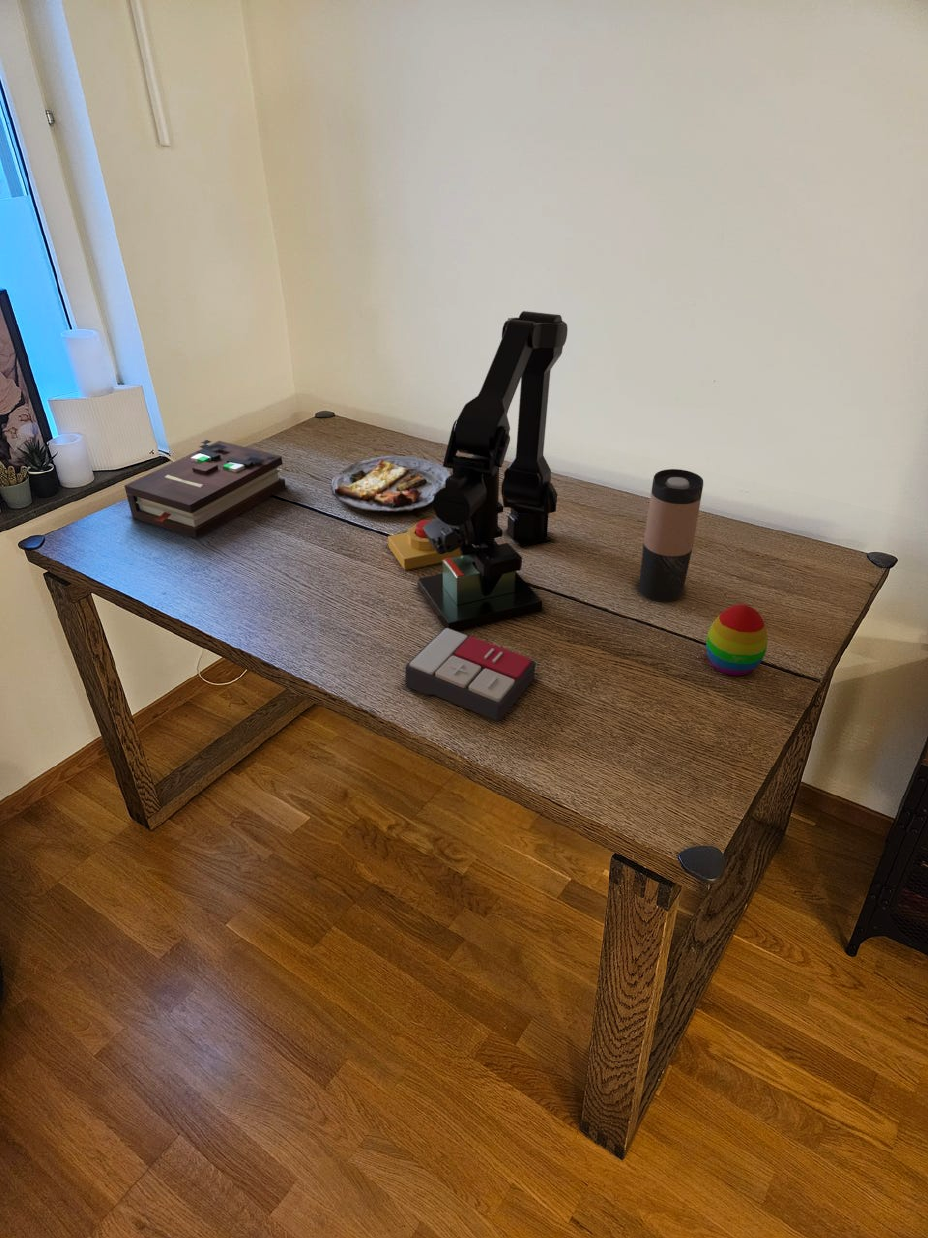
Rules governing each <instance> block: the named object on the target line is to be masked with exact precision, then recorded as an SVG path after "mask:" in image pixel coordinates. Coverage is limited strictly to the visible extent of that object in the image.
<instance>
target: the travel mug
mask: <svg viewBox="0 0 928 1238" xmlns="http://www.w3.org/2000/svg"><path fill="white" fill-rule="evenodd" d="M703 489H704V478H703V477H702V476H700V475H699V474H697V473H696V472H693V471H690V470H685V469H681V468H680V469H679V468H668V469H662V470H659V471H657V472H656V473H655V474H654V475H653V479H652V484H651V492H650V498H649V504H648V510H647V516H646V517H647V518H646V525H645V530H644V536H643V545H642V552H641V563H640V570H639V571H640V572H639V580H638V581H639V582H638V590H639V592H640V594H642V595H643V596H644V597H645V598H647V599H649V600H652V601H655V602H661V603H662V602H665V603H666V602H673V601H676V600H678V599H680V598H681V596H682V595H683V592H684V588H685V583H686V580H687V574H688V570H689V566H690V561H691V557H692V552H693V546H694V541H695V536H696V530H697V524H698V518H699V512H700V507H701V502H702V501H701V500H702V495H703Z"/></svg>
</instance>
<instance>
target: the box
mask: <svg viewBox="0 0 928 1238" xmlns="http://www.w3.org/2000/svg"><path fill="white" fill-rule="evenodd" d="M475 554H476V553H473V554H469V555H464V556H459V557H454V558H445V559H444V560H443V562H442V573H443V587H444V588H445V590H446V591H447V592H448V594H449V595H450V596H451V598H452V599H453V600H454V602H455V603H456V604H457V605H460V604H464V603H468V602H473V601H477V600H481V599H486V598H490V597H495V596H499V595H503V594H508V593H512V592H514V591H515V572H510V573H506V574H503V575H502V576H501V578H500V579H499V581H498V583H497V584H496V586H495V588H494V589H493V591H492V592H491V594H490V595H487V596H484V595H483V591H482V586H481V578H480V572H478V571H477V570H476V569H475V567H474V566H473V565H472V564H471V562H475Z"/></svg>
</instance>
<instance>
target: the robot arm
mask: <svg viewBox="0 0 928 1238" xmlns="http://www.w3.org/2000/svg"><path fill="white" fill-rule="evenodd" d="M568 331H569V330H568V324H567V322H565V321H564V320H563V318H562V316H561V314H555V313H554V314H553V313H545V312H536V311H528V310H522V312H521V313H520V314H519V315H518V317H508V318H507V320H506V321H504V323H503V326H502V330H501V340H500V342H499V345H498V347H497V349H496V352H495V354H494V357H493V359H492V361H491V364H490V366H489V369H488V371H487V374H486V376H485V379H484V381H483V384H482V386H481V388H480V390H479V393H478V394H477V395H476V396H475V397H474V398H472V399H471V400H469V401H467V402H466V403H465V404H464V406H463V407H462V409H461V411H460V413H459V414H458V417H457V419H456V420H455V421H453V424H452V426H451V431H450V435H449V438H448V443H447V447H446V450H445V454H444V458H443V463H442V466H443V467H445V468H447V469H452V475H451V476H449V477H448V478H447V479H446V480H445V485H444V486H443V487H442V488H441V489H440V490H439V491H438V492H437V493H436V494H435V496H434V499H433V502H432V509H433V511H434V514H435V515H436V517H437V518H435V519H433V520H432V521H431V522H429V523H427V524H426V525H425V526H424V531H425V533H426V535H427V538H428V540H429V542H430V544H431V546H432V547H433V548H434V549H435V550H436V552H437V553H438V554H445V553H447V552H449V553H450V552H452V551H454V550H456V549H458V548H459V549H460V552H461V555H462V556H464V555H469V554H473V553H476V554H475V562H471V564H472V565H473V566H474V567H475V569H476V570H477V571H478V572H480V578H481V586H482V591H483V595H484V596H487V595H490V594H491V592H492V591H493V589H494V588H495V586H496V584H497V583H498V581H499V579H500V578H501V576H502V575H503V574H506V573H510V572H515V571H516V572H518V571H521V569H522V568H523V567H522V566H523V556H522V555H521V554H520V553H519V552H518V551H517V550H516V549H515V548H514V547H513V545H510V544H509V543H508V542H504V543H498V542H497V541H496V538H501V537H503V535H504V531H503V530H504V529H502V528H501V527H500V526H499V514H501V513H502V514H503V513H504V508H509V509H510V510H509V511H510V512H509V514H508V515H507V529H505V533H506V534H507V535H508V536H509V538H511V540H512V541H513V542H514V543H516V545H517V546H518V547H520V548H524V547H528V546H533V545H538V544H543V543H548V542H551V541H552V537H551V535H549V534H548V530H549V528H548V527H549V515H550V514H553V513H555V512H556V511H557V503H558V492H557V491H556V488H555V486H554V485H553V483H552V469H551V468H550V466H549V464H548V461H547V459H546V458H545V455H544V450H545V438H546V428H547V427H546V426H547V415H548V404H549V393H550V391H549V390H550V381H551V370H552V369H553V367H554V366H555V364H556V363H557V362H558V360H559V358H560V357H561V356H562V354H563V349H564V346H565V344H566V342H567V337H568ZM519 384H520V390H519V405H518V419H517V420H518V421H517V436H516V448H515V449H516V450H515V458H514V459H513V460H512V461H511V463H510V464H509V466H508V467H507V468H506V469H505V470H504V472H503V478H502V481H501V489H500V468H502V467H503V464H504V462H505V461H504V460H505V458H506V455H507V451H508V449H509V445H510V442H511V435H510V431H511V425H510V422H509V419H508V413H509V410H510V407H511V404H512V402H513V399H514V397H515V395H516V391H517V389H518V387H519ZM458 452H459V453H461V454H466V455H467V454H468V455H471V456H470V457H469V456H462V455H457V454H458ZM500 490H501V491H500ZM499 491H500V492H501V497H502V498H501V499H502V503H501V502H500V501H499V500H500V499H499V498H500V495H499V494H500V492H499Z"/></svg>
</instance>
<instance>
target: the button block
mask: <svg viewBox="0 0 928 1238" xmlns="http://www.w3.org/2000/svg"><path fill="white" fill-rule="evenodd" d="M387 546H388V548H389V550H390V551H391V552H392V554H393V555H394V557H395V558H396V560H397V561H398V562H399V564H400V566H401V567H402V569H403V570H404V571H406V570H413V569H417V568H421V567H426V566H431V565H435V564H441V563H443V560H444V559H445V558H454V557H459V556H462V555H461V552H460V549H459V548H458V549H456V550H454V551H452V552H450V553H449V552H447V553H445V554H438V553H437V552H436V550H435V549H434V548H433V547H432V546H431V544H430V542H429V540H428V538H420V537H418V536H417V535H416V524H415V525H413V526H411V527H409V528H408V531H406V532H402V533H396V534H390V535H388V536H387Z"/></svg>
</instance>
